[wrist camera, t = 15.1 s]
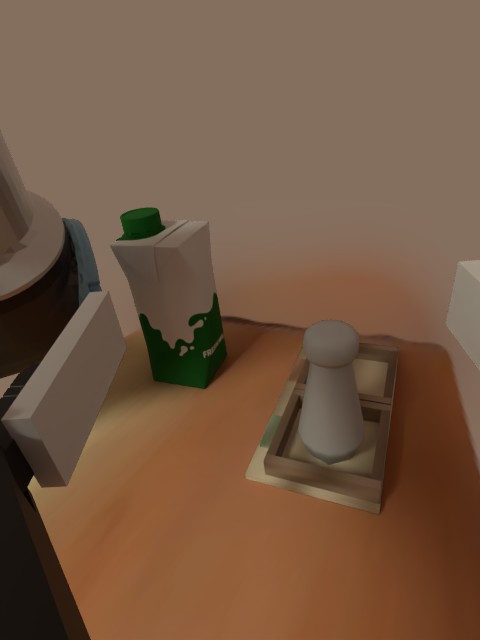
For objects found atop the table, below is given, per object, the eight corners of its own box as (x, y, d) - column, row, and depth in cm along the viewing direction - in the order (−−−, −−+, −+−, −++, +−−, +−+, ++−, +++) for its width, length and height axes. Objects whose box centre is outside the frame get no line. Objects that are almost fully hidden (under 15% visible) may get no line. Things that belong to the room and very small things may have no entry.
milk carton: (177, 344, 56) (142, 201, 46) (237, 351, 53) (214, 199, 43) (143, 384, 50) (94, 227, 39) (209, 396, 46) (175, 227, 36)
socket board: (246, 478, 36) (243, 460, 35) (303, 349, 52) (302, 333, 51) (379, 514, 32) (381, 495, 31) (397, 361, 48) (399, 344, 46)
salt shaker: (303, 420, 41) (298, 308, 34) (363, 426, 39) (369, 310, 32) (295, 468, 36) (287, 349, 29) (363, 477, 34) (370, 353, 28)
